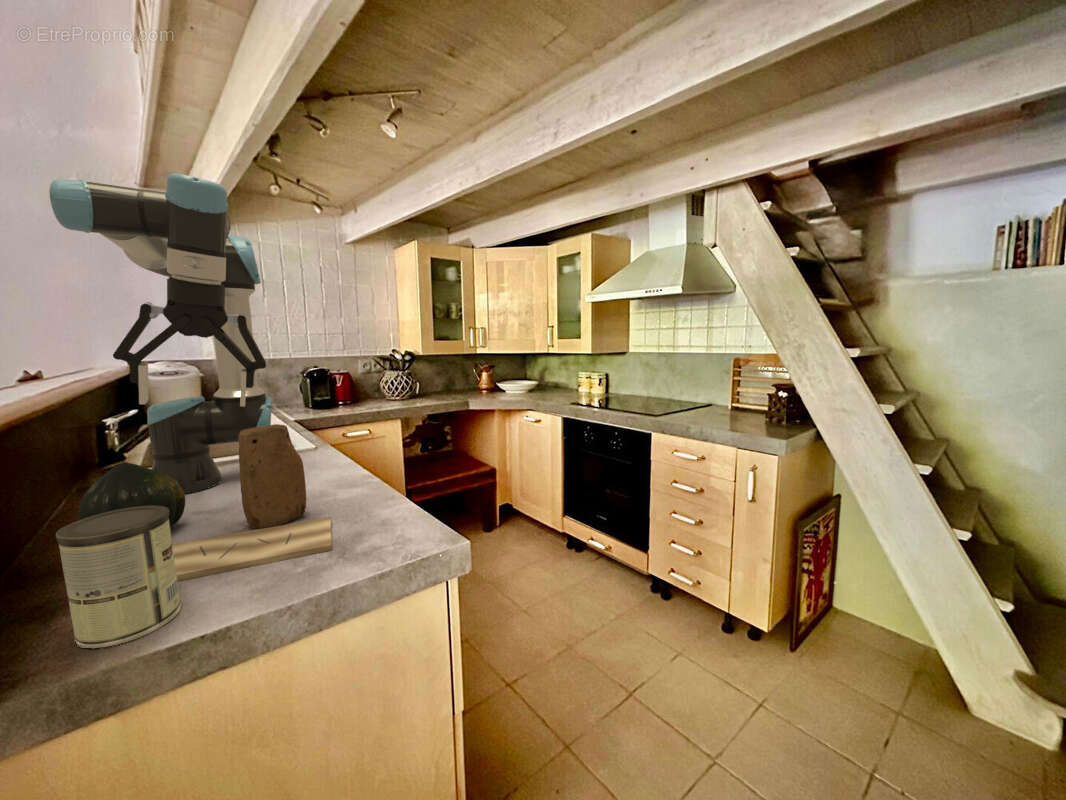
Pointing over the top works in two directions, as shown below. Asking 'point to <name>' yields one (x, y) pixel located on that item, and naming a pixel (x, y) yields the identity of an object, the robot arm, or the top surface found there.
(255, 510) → the block
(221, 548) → the board
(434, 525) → the top surface
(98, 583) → the coffee can
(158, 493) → the squash
